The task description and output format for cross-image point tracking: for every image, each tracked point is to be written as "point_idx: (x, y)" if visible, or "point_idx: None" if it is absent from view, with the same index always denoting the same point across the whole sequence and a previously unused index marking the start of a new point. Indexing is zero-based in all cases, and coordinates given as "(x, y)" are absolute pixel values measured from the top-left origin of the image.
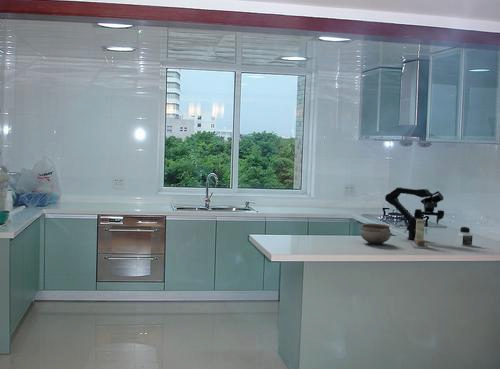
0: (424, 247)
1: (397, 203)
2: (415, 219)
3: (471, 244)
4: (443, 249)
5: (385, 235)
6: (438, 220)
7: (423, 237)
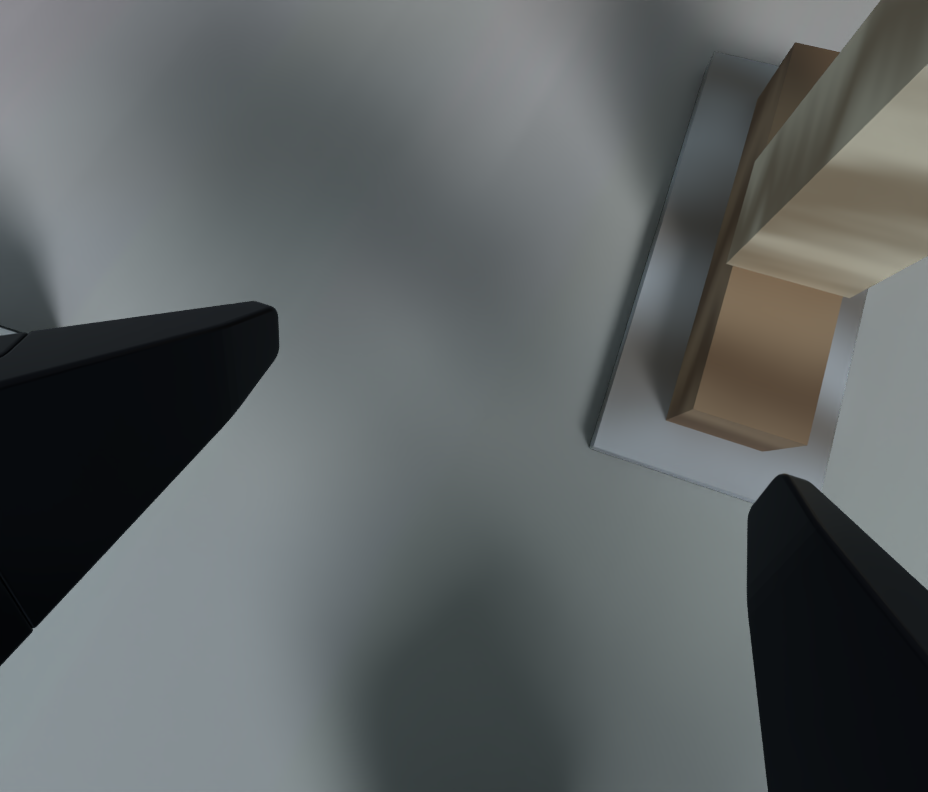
0: (768, 67)
1: None
2: None
3: None
4: (514, 61)
5: None
6: (114, 320)
7: (787, 124)
